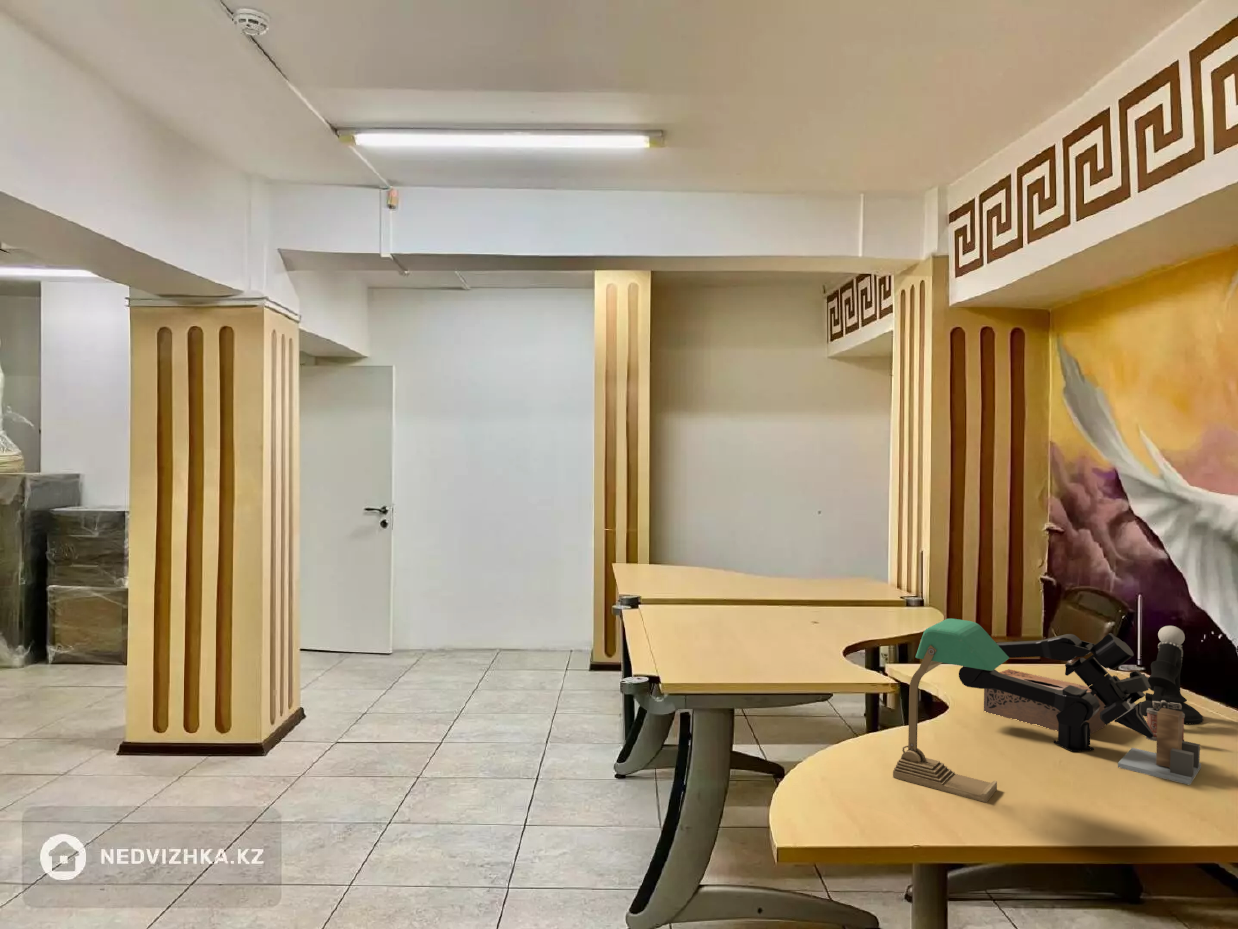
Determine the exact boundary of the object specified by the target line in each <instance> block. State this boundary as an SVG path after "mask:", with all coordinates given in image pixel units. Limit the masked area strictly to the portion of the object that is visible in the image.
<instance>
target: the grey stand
mask: <svg viewBox="0 0 1238 929" xmlns="http://www.w3.org/2000/svg"><path fill="white" fill-rule="evenodd" d="M1200 746H1201V744H1199V743H1195V742H1190V741H1187V740H1184V741H1182V750H1179V749H1175V748H1172V749H1171V754H1170V768H1169V767H1165V766H1160V765H1156V752H1154V751H1149V750H1145V749H1144V750H1143V749H1140V748H1136V747H1131V748H1129V750H1128V752H1126V753H1125V754H1124V756H1123V757H1122V758H1121V759H1120V760H1119V761H1118V763H1117V768H1119V767H1120V769H1124V770H1128V771H1132V772H1136V773H1138V774H1139V773H1140V774H1144V775H1148V776H1151V777H1155V778H1160V779H1164V780H1168V779H1169V780H1168V781H1173V782H1176V783H1180V784H1185V785H1188V786H1191V784H1192V783H1193V781H1194V779H1195V778H1196V777H1197V775H1198V773H1199V771H1200V770H1201V768H1202V763H1201V762H1200V759H1201V758H1200V755H1201V754H1200V753H1201V752H1200V750H1201V748H1200Z"/></svg>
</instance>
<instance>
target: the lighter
mask: <svg viewBox="0 0 1238 929" xmlns="http://www.w3.org/2000/svg"><path fill="white" fill-rule="evenodd" d="M1152 705H1153V708H1147V718H1146V719H1147V720H1146V722H1147V724H1148V726H1149V727H1150V729H1151V731H1152V733H1153V734H1154V736H1153V737H1151V738H1148V737H1146V736H1145V738H1146V739H1147V740H1150V741H1153V742H1157V712H1158V711H1159V710H1160V709H1161V708H1166V709H1169V708H1172V710H1176V709H1182V705H1181V704H1179V703H1172V702H1170V703H1167V702H1166V701H1164V700H1162V701H1161V702H1159V701H1152ZM1157 706H1159V707H1158V709H1156V708H1157ZM1184 718H1185V714H1184V713H1183V716H1182V741H1185V739H1184V736H1185V735H1184V733H1185V724H1184Z"/></svg>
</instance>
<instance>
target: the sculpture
mask: <svg viewBox="0 0 1238 929" xmlns="http://www.w3.org/2000/svg"><path fill="white" fill-rule="evenodd" d="M1157 636H1158V639H1159V641H1160V642H1159V643H1158V644H1157V649H1158V653H1157V656H1156V660H1155V661H1152V662H1151V664H1150V670H1151V674H1150V676H1147V677H1148V682H1149V684H1150V686H1151V688H1149V690H1150V691H1152V692H1153V693H1148V692H1145V696H1144V697H1145V700H1143V701H1141V702H1142V704H1141V713H1142V715H1143V717H1146V716H1147V708H1153V705H1152V701H1159V702H1161V701H1162V700H1164V701H1166V702H1167V703H1170V702H1172V703H1179V704H1181V705H1182V709H1176V711H1181V712H1183V713H1184V714H1185V718H1184V725H1199V724H1202V723H1203V722H1204V717H1203V715H1202V714H1201V712H1199V711H1198V710H1197V709H1196V708H1194V707H1193V706H1191V705H1190V704H1188V703H1187V702H1188V699H1187V698H1186V697H1185V696H1184V695H1182V694H1181V670H1182V666H1183V664H1182V663H1183V657H1184V650H1183V645H1182V644H1183V643H1184V641H1185V639H1186V637H1185V633H1184V631H1183V630H1182V629H1181V628H1179V627H1177V626H1174V625H1165V626H1163V627H1161V628H1160V629H1159V631H1158V633H1157ZM1158 707H1159V706H1157V708H1156V709H1158ZM1169 709H1171V710H1172V708H1169Z"/></svg>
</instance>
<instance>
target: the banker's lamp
mask: <svg viewBox="0 0 1238 929" xmlns="http://www.w3.org/2000/svg"><path fill="white" fill-rule="evenodd" d="M996 643H997V642H996V641H995V640H994V639H993V638H992V637H991V635H989V633H988V632H987V631H986V630H985V629H984V628H983V627H982V626H981V625H980V624H979V623H977V622H975V621H971V620H965V619H959V618H958V619H957V618H946V619H944V620H941V621H940V622H938V623H934V624H933V625H931V626H929V627H927V628H926V629H924V631H923V634H922V636H921V639H920V642H919V645H918V649H917V652H916V654H915V658H916V659H918V660H922V661H921V662H920V666H919V667H918V668H917V670H915V672H914V673H913V675H912V677H911V679H910V682H909V692H908V694H909V695H908V737H907V738H908V740H907V741H908V742H907V743H908V745H905V746H903V747H902V753H901V756H900V758H899V759H898V761H896V764H895V767H894V768H893V771H892V778H893V777H894V778H893V779H898V780H900V779H903V780H902V781H904V780H906V781H905V782H908V783H912V784H916V785H920V786H923V785H924V787H927V788H930V787H931V789H935V790H937V789H938V791H942V792H945V791H946V792H945V793H949V792H950V793H949V794H952V795H957V796H959V797H964V798H967V797H968V798H967V799H971V800H975V801H979V802H983V803H987V802H988V801H989V800H990V799H991V798H992V796H994V794H995V793H996V792H997V791H998V781H996V780H993V781H985V780H981V779H978V778H974V777H970V776H967V775H966V776H965V775H961V774H957V773H955V771H952V768H948V766H947V765H945V763H944V762H941V761H940V760H938V759H934V758H933V759H932V758H929V757H926V756H925V754H924V752H923V751H922V750H921V749H920V748H918V720H919V719H918V714H919V712H918V711H919V708H918V706H919V704H918V703H919V686H920V682H921V680H922V678H923V677H924V675H926V674H927V673H928V672H931V671H932V670H933V669H935V668H936V667H938V666H940V665H942V664H949V665H955V666H960V667H963V666H965V667H971V668H977V669H983V670H989V671H992V670H994V669H995V670H997V668H998V667H999V666H1001V665H1003V664H1004V663H1005V662H1006V661H1007V660H1009V659H1010V658H1009V657H1008V656H1007V655H1006V654H1005V652H1004V651H1003V650H1002V649H1001V648H1000V647H999V646H998V645H997V644H996ZM907 748H908V749H907ZM905 749H907V750H906V751H905Z"/></svg>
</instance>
